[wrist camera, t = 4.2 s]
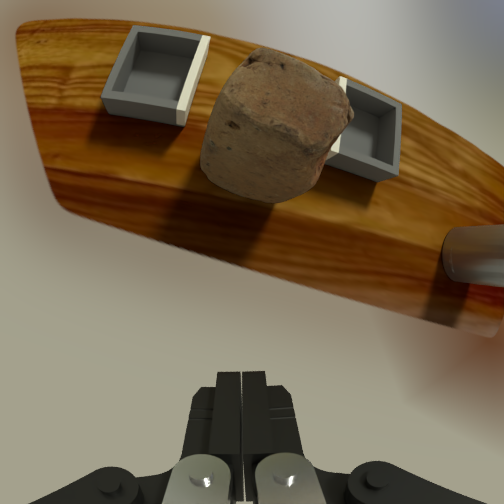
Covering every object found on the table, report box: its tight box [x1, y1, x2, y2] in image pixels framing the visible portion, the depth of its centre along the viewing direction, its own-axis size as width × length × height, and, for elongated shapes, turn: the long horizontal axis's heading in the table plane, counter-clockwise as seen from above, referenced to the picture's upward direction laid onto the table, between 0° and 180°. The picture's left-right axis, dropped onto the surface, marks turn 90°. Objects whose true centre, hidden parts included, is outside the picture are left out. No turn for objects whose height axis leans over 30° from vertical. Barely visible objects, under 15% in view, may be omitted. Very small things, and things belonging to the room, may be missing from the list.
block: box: [200, 48, 354, 203], centre depth 28 cm, size 11×8×20 cm
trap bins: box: [101, 25, 402, 182], centre depth 36 cm, size 37×11×5 cm, turn 78°
